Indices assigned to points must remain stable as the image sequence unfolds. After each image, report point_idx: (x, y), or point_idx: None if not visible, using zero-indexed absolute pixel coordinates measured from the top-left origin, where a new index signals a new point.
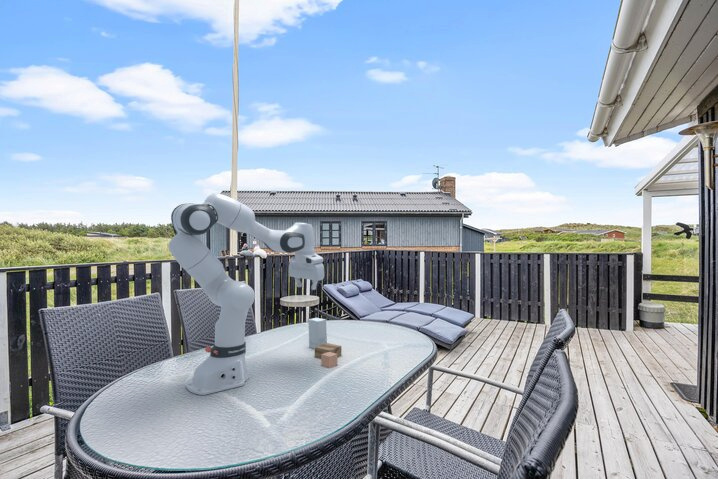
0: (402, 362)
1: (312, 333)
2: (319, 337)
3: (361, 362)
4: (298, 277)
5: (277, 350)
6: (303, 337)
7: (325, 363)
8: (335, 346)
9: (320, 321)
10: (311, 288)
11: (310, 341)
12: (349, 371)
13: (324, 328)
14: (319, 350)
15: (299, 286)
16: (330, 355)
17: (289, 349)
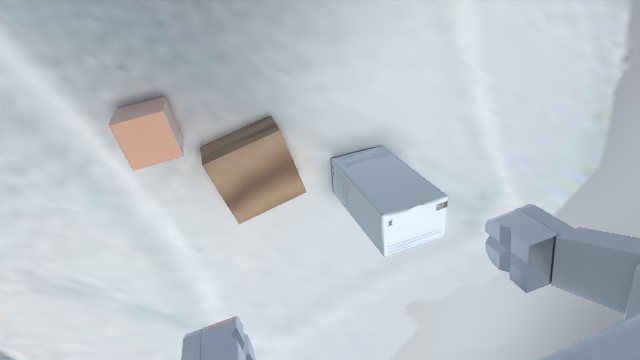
0: (66, 336)
1: (387, 175)
2: (350, 186)
3: (128, 233)
4: (622, 325)
5: (430, 26)
6: (480, 171)
7: (137, 106)
8: (244, 203)
9: (380, 228)
10: (228, 326)
11: (384, 156)
12: (38, 159)
13: (364, 225)
14: (254, 137)
15: (493, 226)
16: (126, 138)
17: (409, 73)
